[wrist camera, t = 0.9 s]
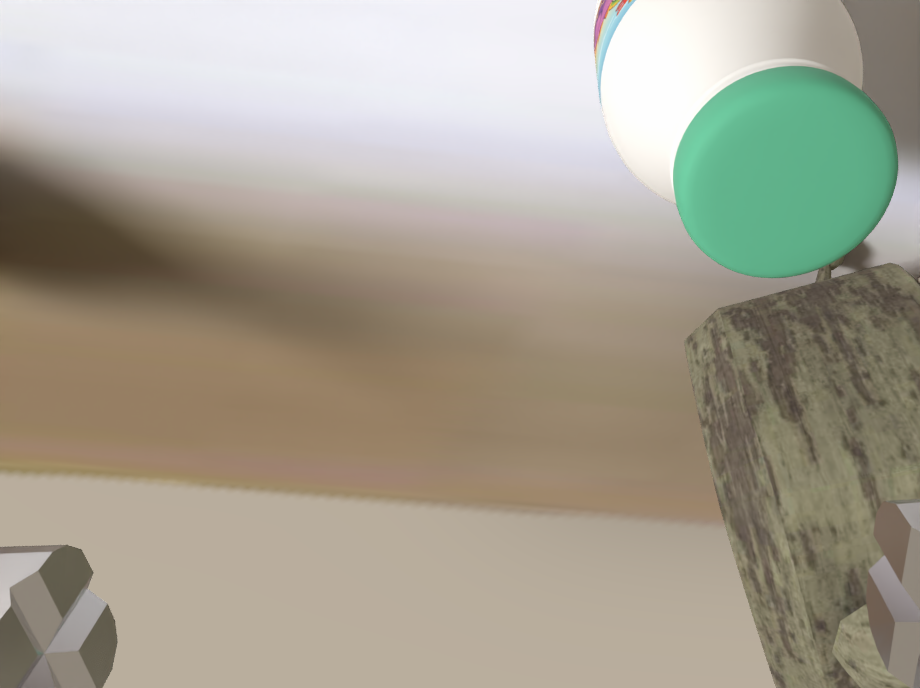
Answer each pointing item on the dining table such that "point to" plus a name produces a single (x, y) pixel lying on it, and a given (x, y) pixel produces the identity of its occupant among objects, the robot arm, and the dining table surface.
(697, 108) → the milk bottle
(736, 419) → the tabletop clock
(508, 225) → the dining table surface
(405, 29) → the dining table surface
